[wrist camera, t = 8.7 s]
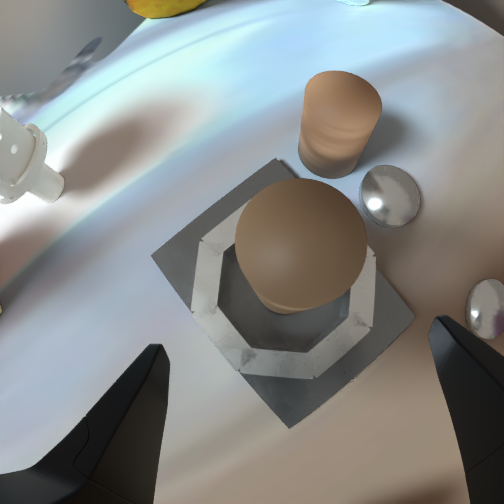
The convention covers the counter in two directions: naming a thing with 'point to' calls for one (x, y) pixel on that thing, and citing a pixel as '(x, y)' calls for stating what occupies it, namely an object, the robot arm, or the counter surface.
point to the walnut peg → (300, 245)
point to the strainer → (25, 162)
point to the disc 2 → (486, 309)
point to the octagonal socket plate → (273, 325)
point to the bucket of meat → (162, 7)
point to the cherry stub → (336, 122)
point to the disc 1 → (389, 196)
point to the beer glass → (355, 2)
